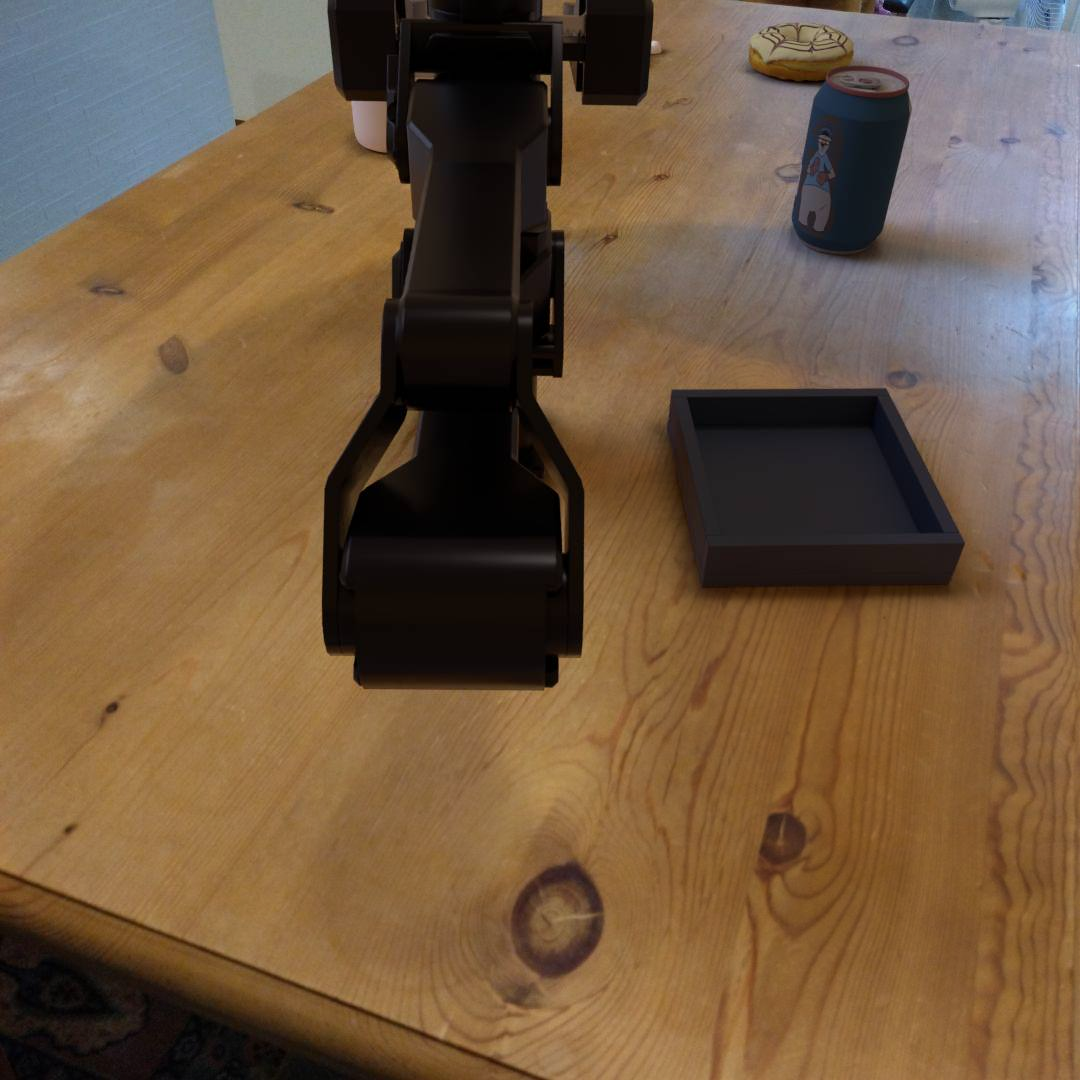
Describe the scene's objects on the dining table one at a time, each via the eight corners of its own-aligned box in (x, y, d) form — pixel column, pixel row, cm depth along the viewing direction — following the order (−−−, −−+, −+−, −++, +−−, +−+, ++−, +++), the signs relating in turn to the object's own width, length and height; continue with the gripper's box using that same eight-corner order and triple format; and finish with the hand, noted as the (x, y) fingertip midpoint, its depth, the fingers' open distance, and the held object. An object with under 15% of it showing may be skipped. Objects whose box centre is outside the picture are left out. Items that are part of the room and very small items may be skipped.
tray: (950, 584, 53) (966, 543, 51) (701, 587, 53) (708, 546, 51) (875, 427, 63) (886, 387, 62) (666, 428, 63) (671, 389, 61)
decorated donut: (738, 53, 116) (743, 16, 114) (835, 54, 117) (842, 17, 114) (755, 85, 108) (761, 46, 106) (859, 86, 109) (867, 47, 106)
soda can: (883, 227, 84) (922, 69, 76) (873, 265, 79) (914, 101, 71) (796, 213, 86) (825, 57, 78) (781, 249, 81) (810, 87, 73)
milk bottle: (452, 149, 94) (442, -110, 81) (367, 160, 92) (343, -104, 79) (426, 119, 100) (413, -129, 87) (346, 129, 98) (320, -124, 84)
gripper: (675, -85, 52) (648, -133, 64) (294, -93, 52) (339, -139, 64) (655, 143, 59) (634, 61, 71) (320, 137, 59) (356, 57, 71)
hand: (495, 9), depth 69 cm, fingers open, 9 cm apart
